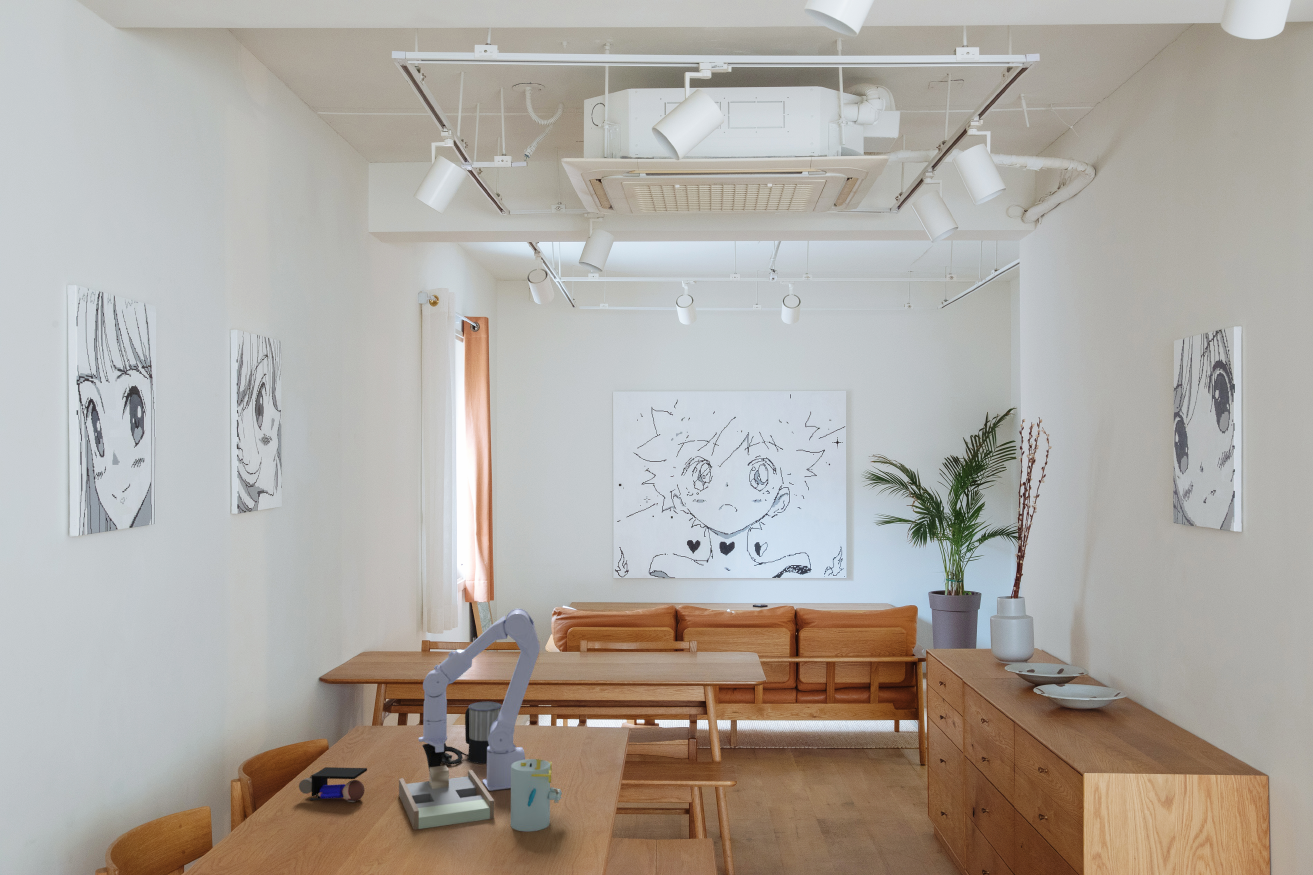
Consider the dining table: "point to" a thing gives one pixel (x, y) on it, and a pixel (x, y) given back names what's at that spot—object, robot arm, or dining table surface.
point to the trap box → (446, 802)
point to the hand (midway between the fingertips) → (434, 773)
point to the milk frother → (476, 732)
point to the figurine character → (323, 790)
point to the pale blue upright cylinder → (531, 794)
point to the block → (439, 777)
